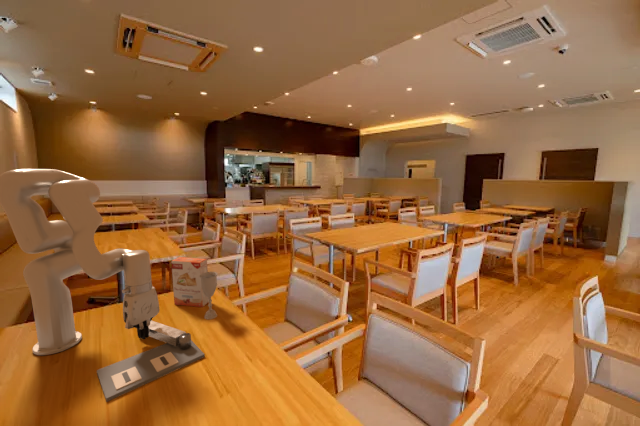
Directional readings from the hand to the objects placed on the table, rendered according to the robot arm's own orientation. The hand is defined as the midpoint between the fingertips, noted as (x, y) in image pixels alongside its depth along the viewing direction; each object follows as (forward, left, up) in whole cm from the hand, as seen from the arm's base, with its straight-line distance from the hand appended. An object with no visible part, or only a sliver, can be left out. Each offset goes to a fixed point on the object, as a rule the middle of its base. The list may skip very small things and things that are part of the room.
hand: (143, 337), depth 99 cm
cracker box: (-20, +24, -3) cm, 31 cm away
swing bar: (+4, +6, -1) cm, 7 cm away
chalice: (-3, +25, -3) cm, 25 cm away
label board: (+14, -1, -3) cm, 14 cm away
